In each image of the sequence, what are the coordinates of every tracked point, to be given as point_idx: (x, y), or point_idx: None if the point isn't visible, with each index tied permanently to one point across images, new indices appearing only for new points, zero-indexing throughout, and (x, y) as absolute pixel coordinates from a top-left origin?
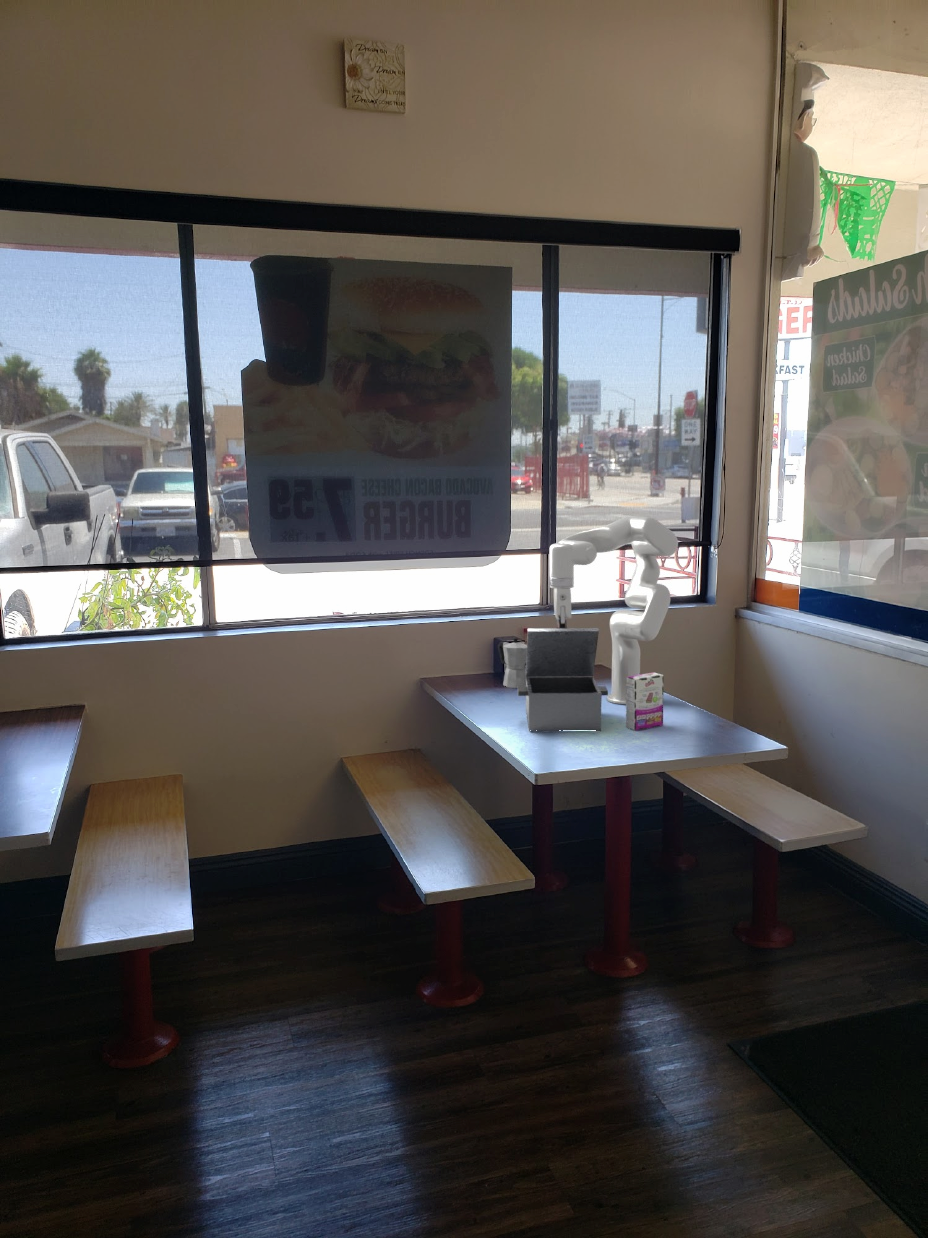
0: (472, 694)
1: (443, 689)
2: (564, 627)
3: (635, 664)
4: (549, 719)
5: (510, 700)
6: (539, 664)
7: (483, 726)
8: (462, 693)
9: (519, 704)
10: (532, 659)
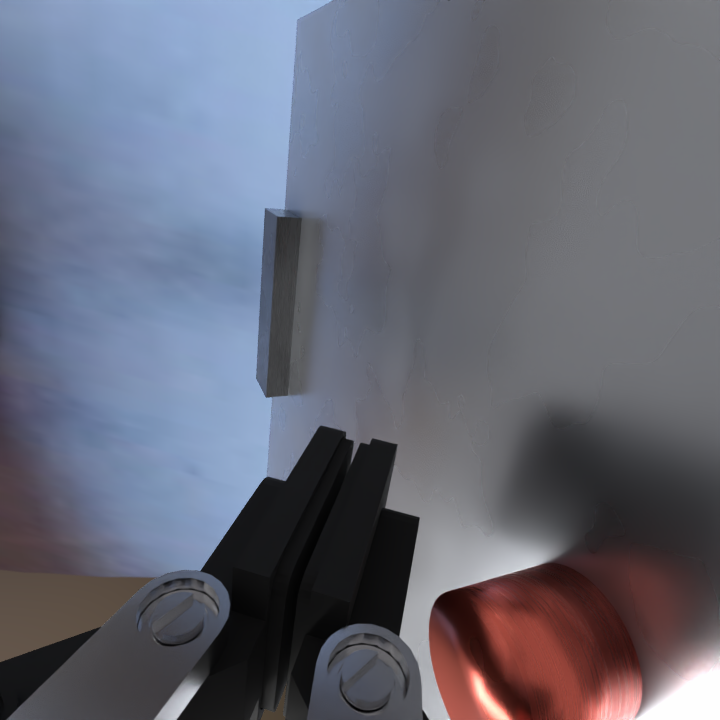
0: (95, 498)
1: (44, 557)
2: (402, 685)
3: None
4: None
5: (167, 401)
6: None
7: None
8: (85, 522)
9: (224, 384)
10: None
